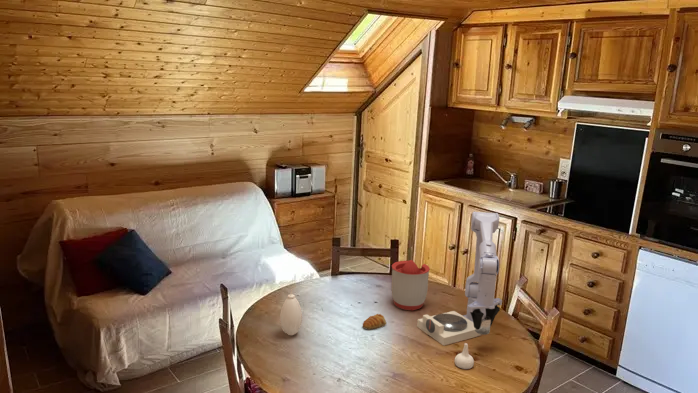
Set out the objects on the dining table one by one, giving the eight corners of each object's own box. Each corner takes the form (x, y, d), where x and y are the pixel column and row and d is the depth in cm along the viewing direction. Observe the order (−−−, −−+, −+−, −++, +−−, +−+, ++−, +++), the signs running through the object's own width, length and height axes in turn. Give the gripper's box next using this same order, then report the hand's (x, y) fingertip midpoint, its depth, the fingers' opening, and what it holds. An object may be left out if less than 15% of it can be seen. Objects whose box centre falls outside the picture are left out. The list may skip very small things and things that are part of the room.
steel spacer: (482, 326, 188) (483, 313, 187) (492, 332, 184) (493, 319, 182) (472, 329, 186) (473, 316, 184) (481, 335, 181) (483, 322, 180)
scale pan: (451, 313, 206) (451, 311, 206) (474, 327, 195) (474, 325, 194) (425, 319, 200) (425, 317, 199) (447, 334, 188) (447, 332, 188)
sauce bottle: (305, 332, 193) (306, 286, 189) (294, 341, 186) (295, 294, 182) (287, 327, 196) (287, 282, 192) (276, 336, 189) (276, 290, 185)
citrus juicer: (434, 301, 223) (438, 257, 218) (417, 316, 209) (420, 269, 204) (401, 293, 231) (404, 250, 227) (382, 306, 217) (385, 261, 212)
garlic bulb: (461, 372, 171) (464, 352, 168) (450, 361, 176) (453, 341, 174) (476, 369, 173) (480, 348, 171) (465, 358, 179) (469, 338, 176)
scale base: (453, 317, 209) (454, 302, 207) (481, 335, 195) (483, 319, 194) (416, 326, 200) (417, 311, 199) (442, 345, 187) (444, 329, 185)
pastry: (370, 333, 194) (370, 323, 193) (357, 326, 199) (358, 317, 198) (387, 325, 201) (388, 316, 200) (375, 319, 205) (375, 310, 205)
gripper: (478, 298, 174) (474, 335, 177) (509, 291, 181) (505, 327, 184) (464, 291, 180) (460, 327, 183) (495, 284, 187) (491, 319, 190)
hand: (482, 326), depth 184 cm, fingers closed on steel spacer, 5 cm apart
